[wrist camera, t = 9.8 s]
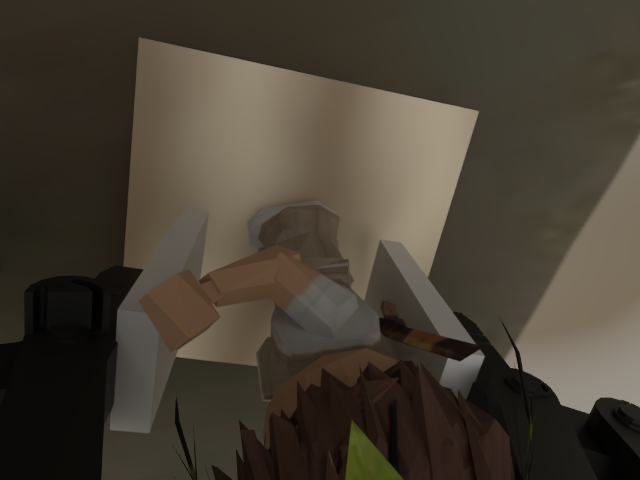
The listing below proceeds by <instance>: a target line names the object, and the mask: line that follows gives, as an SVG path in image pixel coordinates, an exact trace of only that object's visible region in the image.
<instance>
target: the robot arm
mask: <svg viewBox="0 0 640 480" xmlns="http://www.w3.org/2000/svg"><path fill="white" fill-rule="evenodd" d="M208 216H209V211H206V210H199V209H193V208H187V207H184V209H183V210H182V212H181V213H180V215H179V216H178V218H177V220H176V221H175V223H174V224H173V226H172V227H171V229H170V230H169V232H168V233H167V235H166V236H165V238H164V239H163V241H162V242H161V244H160V245H159V247H158V249H157V250H156V252H155V253H154V255H153V256H152V258H151V259H150V261H149V262H148V264H147V265H146V267H145V268H144V269H137V268H130V267H123V266H114V267H112V268H109V269H107V270H105V271H103V272H101V273H99V275H98V276H97V277H96V278H95V279H93V278H89V277H82V276H58V277H53V278H48V279H44V280H41V281H39V282H37V283H34V284H32V285H30V286H29V288H28V289H27V290H26V291H25V292H24V306H25V335H24V338H23V341H20V342H15V343H7V344H0V480H101V471H102V451H103V432H104V424H105V421H106V419H107V417H108V415H109V413H110V411H111V419H110V430H117V431H128V432H139V433H150V430H151V427H152V424H153V421H154V418H155V415H156V412H157V409H158V406H159V404H160V401H161V398H162V395H163V392H164V389H165V386H166V383H167V380H168V377H169V375H170V372H171V369H172V366H173V363H174V360H175V357H176V354H177V351H178V350H177V349H175V350H174V351H172V352H171V351H170V350H169V348H168V347H167V345H166V344H165V342H164V340H163V339H162V337H161V336H160V334H159V333H158V331H157V329H156V328H155V326H154V325H153V323H152V322H151V320H150V318H149V317H148V315H147V314H146V312H145V311H144V309H143V308H142V306H141V304H140V303H139V300H140V299H141V298H142V297H143V296H144V295H145V294H146V293H148V292H149V291H151V290H152V289H154V288H155V287H157V286H158V285H160V284H161V283H163V282H164V281H166V280H167V279H169V278H170V277H172V276H173V275H175V274H176V273H179V272H183V271H186V270H190V271H191V272H192V274H193V275H194V277H195V278H196V280H197V281H198V283H199V280H200V278H201V271H202V263H203V255H204V247H205V240H206V232H207V224H208ZM199 284H200V283H199ZM364 301H365V302H366V303H367V304H368V305H369V306H370V307H371V308H372V309H373V310H374V311H375V312H376V313H377V314H378V316H379V318H384V316H383V314H382V311H381V308H380V307H381V304H382V301H386V302H390V303H393V304H395V305H396V309H397V314H398V318H402V319H403V320H404V322H405V324H406V325H407V327H408V328H412V329H416V330H420V331H424V332H428V333H432V334H436V335H440V336H444V337H448V338H452V339H456V340H460V341H464V342H468V343H472V344H476V345H480V346H484V347H483V348H481V349H480V350H478V351H476V352H475V353H473V354H472V355H470V356H468V357H467V358H465V359H464V360H462V361H460V362H459V361H456V360H453V359H450V358H447V357H444V356H440V355H437V354H434V353H431V352H428V351H425V350H422V349H419V348H416V347H413V346H409V345H406V344H403V343H400V342H397V341H394V340H393V342H394V344H395V347H396V349H397V352H398V354H399V358H400V359H401V360H402V361H413V363H414V364H415V366H416V367H417V362H418V364H419V366H420V368H421V365H420V362H421V363H422V364H423V366H424V367H425V368H426V369H427V370H428V371H429V372H430V373H431V374H432V376H433V377H434V378H435V379H436V380H437V381H438V382H439V383H440V384H441V386H443V387H447V388H450V389H451V390H452V391H453V393H454V394H455V396H456V397H457V399H458V390H459V391H460V393H461V395H462V396H463V398H464V399H466V400H468V401H469V402H471V403H472V404H474V405H475V406H477V407H478V408H480V409H482V410H483V411H485V412H486V413H488V414H489V415H491V416H492V417H494V418H495V419H496V420H497V421H498V423H499V424H500V425H501V427H502V428H503V429H504V430H505V432H506V433H507V434H508V436H509V437H510V456H511V457H512V453H513V465H514V473H515V480H522V475H521V466H520V456H519V447H518V438H517V428H518V436H519V444H520V452H521V460H522V468H523V476H524V472H525V462H526V451H527V440H528V429H529V422H528V418H527V414H526V410H525V406H524V401H523V397H524V395H523V397H522V393H523V390H522V393H521V389H522V384H521V379H520V374H519V370H518V369H513V368H510V367H509V366H508V364H507V363H506V362H505V361H504V359H503V358H502V357H501V356H500V354H499V353H498V352H497V351H496V349H495V348H494V347H493V346H492V345H490V344H491V343H490V342H489V340H488V339H487V338H486V337H485V336H483V335H484V334H483V333H482V332H481V330H480V329H479V328H478V327H477V325H476V324H475V323H474V322H472V321H471V320H470V319H468V318H467V317H466V316H464V315H463V314H461V313H458V312H452V311H451V309H450V308H449V307H448V305H447V304H446V303H445V301H444V300H443V299H442V297H441V296H440V294H439V293H438V292H437V290H436V289H435V288H434V286H433V285H432V284H431V282H430V281H429V279H428V278H427V277H426V275H425V274H424V273H423V271H422V270H421V269H420V267H419V266H418V264H417V263H416V262H415V260H414V259H413V258H412V256H411V255H410V254H409V252H408V251H407V250H406V248H405V247H404V245H403V244H402V243H401V242H394V241H388V240H382V239H380V241H379V245H378V249H377V253H376V256H375V260H374V264H373V268H372V272H371V275H370V279H369V283H368V287H367V291H366V295H365V298H364ZM516 371H517V373H516ZM523 374H524V380H525V385H526V391H527V396H528V402H529V407H530V413H531V374H528V373H526V372H524V371H523ZM517 375H518V377H517ZM518 379H519V381H518ZM511 380H512V381H511ZM519 382H520V385H519ZM520 386H521V389H520ZM512 388H513V390H512ZM513 396H514V400H513ZM514 404H515V409H514ZM515 412H516V419H515ZM532 415H533V428H532V439H531V450H530V461H531V456H532V452H533V447H534V442H535V447H534V452H533V458H532V464H531V470H530V475H529V480H539V479H540V477H541V475H542V477H541V479H540V480H640V408H639V407H638V406H636V405H634V404H632V403H631V404H630V403H629V402H626V401H624V400H617V399H613V398H600V399H598V400H597V401H596V402H595V404H594V406H593V408H592V410H591V413H590V414H587V413H585V412H581V411H578V410H575V409H571V408H569V407H565V406H562V405H561V404H560V402H559V400H558V398H557V396H556V395H555V393H554V392H553V391H552V389H551V388H550V387H549V386H548V385H547V384H545V383H544V382H542V381H541V380H540V379H538V378H536V377H534V376H533V375H532ZM516 420H517V428H516ZM538 423H539V424H538ZM537 428H538V429H537ZM536 433H537V435H536ZM535 437H536V441H535ZM511 440H512V446H511ZM530 461H529V466H530ZM547 463H548V464H547ZM546 465H547V466H546ZM545 467H546V468H545ZM544 469H545V470H544ZM543 471H544V472H543ZM542 473H543V474H542Z"/></svg>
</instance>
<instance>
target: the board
mask: <svg viewBox="0 0 640 480" xmlns="http://www.w3.org/2000/svg"><path fill="white" fill-rule="evenodd" d="M478 113H479V111H476V110H471V109H466V108H462V107H457V106H453V105H448V104H443V103H439V102H434V101H430V100H425V99H420V98H416V97H411V96H407V95H402V94H397V93H393V92H388V91H384V90H379V89H374V88H370V87H365V86H361V85H356V84H351V83H347V82H342V81H338V80H333V79H328V78H324V77H319V76H315V75H310V74H305V73H301V72H296V71H291V70H287V69H282V68H278V67H273V66H268V65H264V64H259V63H255V62H250V61H245V60H241V59H236V58H232V57H227V56H222V55H218V54H213V53H209V52H204V51H199V50H195V49H190V48H186V47H181V46H176V45H172V44H167V43H163V42H158V41H153V40H149V39H144V38H140V37H139V44H138V58H137V73H136V88H135V102H134V117H133V132H132V147H131V161H130V176H129V191H128V205H127V220H126V235H125V250H124V264H123V267H130V268H137V269H144V268H145V267H146V265H147V264H148V262H149V261H150V259H151V258H152V256H153V255H154V253H155V252H156V250H157V249H158V247H159V245H160V244H161V242H162V241H163V239H164V238H165V236H166V235H167V233H168V232H169V230H170V229H171V227H172V226H173V224H174V223H175V221H176V220H177V218H178V216H179V215H180V213H181V212H182V210H183V209H184V207H187V208H193V209H199V210H206V211H209V216H208V224H207V232H206V240H205V247H204V255H203V263H202V271H201V278H202V277H204V276H205V275H206V274H207V273H209V272H211V271H214V270H216V269H219V268H221V267H224V266H226V265H228V264H231V263H233V262H236V261H238V260H241V259H243V258H245V257H248V256H250V255H253V254H255V253H257V252H258V249H259V248H261V247H254V246H250V240H249V232H248V224H247V222H248V221H249V220H250V219H251V218H252V217H253V216H254V215H255V214H256V213H257V212H258V211H259V210H260V209H262V208H269V207H276V206H283V205H289V204H296V203H303V202H310V201H319V202H320V203H322V204H324V205H325V206H327V207H329V208H330V209H332V210H334V211H335V213H336V215H337V216H339V217H340V221H339V226H338V232H337V241H338V250H339V252H340V254H341V255H342V257H343V259H344V260H345V259H349V269H350V274H351V275H352V277H353V279H354V282H353V283H352V284H351V289H352V290H353V291H354V292H355V293H356V294H357V295H358V296H359V297H361V298H362V299H363V300H364V298H365V295H366V291H367V287H368V283H369V279H370V275H371V272H372V268H373V264H374V260H375V256H376V253H377V249H378V245H379V241H380V239H382V240H388V241H394V242H401V243H402V244H403V245H404V247H405V248H406V250H407V251H408V252H409V254H410V255H411V256H412V258H413V259H414V260H415V262H416V263H417V264H418V266H419V267H420V269H421V270H422V271H423V273H424V274H425V275H426V277H427V278H428V276H429V273H430V269H431V266H432V263H433V260H434V256H435V253H436V250H437V247H438V243H439V240H440V237H441V234H442V230H443V227H444V224H445V220H446V217H447V214H448V211H449V207H450V204H451V201H452V198H453V194H454V191H455V188H456V185H457V181H458V178H459V175H460V171H461V168H462V165H463V162H464V158H465V155H466V152H467V149H468V145H469V142H470V139H471V136H472V132H473V129H474V126H475V123H476V119H477V116H478ZM201 278H200V279H201ZM213 306H214V307H215V309H216V310H217V312H218V313H219V315H220V316H221V317H220V318H219V319H218V320H217V321H216V322H215V323H214V324H213V325H212V326H211V327H210V328H209V329H208V330H206V331H205V332H203V333H202V334H201V335H199V336H198V337H196V338H195V339H193V340H192V341H190V342H189V343H187V344H186V345H184V346H183V347H181V348H180V349H179V350H178V351H177V354H176V357H181V358H190V359H199V360H207V361H216V362H225V363H233V364H242V365H251V366H257V360H256V353H257V351H258V350H259V348H260V347H261V345H262V344H263V342H264V341H265V339H266V338H267V337H271V318H272V315H273V312H274V309H275V303H274V302H273V301H272V300H271V299H270V298H266V299H260V300H255V301H249V302H244V303H238V304H233V305H227V306H222V307H216V306H215V305H214V303H213Z"/></svg>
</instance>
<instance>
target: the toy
mask: <svg viewBox="0 0 640 480" xmlns="http://www.w3.org/2000/svg"><path fill="white" fill-rule="evenodd" d="M339 221H340V217H339V216H337V215H336V213H335V211H334V210H332V209H330V208H329V207H327V206H325V205H324V204H322V203H320V202H319V201H310V202H303V203H296V204H289V205H283V206H276V207H269V208H262V209H260V210H259V211H258V212H257V213H256V214H255V215H254V216H253V217H252V218H251V219H250V220H249V221H248V222H247V224H248V232H249V240H250V246H254V247H261V248H259V249H258V252H257V253H255V254H253V255H250V256H248V257H245V258H243V259H241V260H238V261H236V262H233V263H231V264H228V265H226V266H224V267H221V268H219V269H216V270H214V271H211V272H209V273H207V274H206V275H205V276H204V277H202V278H201V279H200V280H199V283H200V284H199V283H198V281H197V280H196V278H195V277H194V275H193V274H192V272H191V271H190V270H186V271H183V272H179V273H176V274H175V275H173V276H172V277H170V278H169V279H167V280H166V281H164V282H163V283H161V284H160V285H158V286H157V287H155V288H154V289H152V290H151V291H149V292H148V293H146V294H145V295H144V296H143V297H142V298H141V299H140V300H139V303H140V304H141V306H142V308H143V309H144V311H145V312H146V314H147V315H148V317H149V318H150V320H151V322H152V323H153V325H154V326H155V328H156V329H157V331H158V333H159V334H160V336H161V337H162V339H163V340H164V342H165V344H166V345H167V347H168V348H169V350H170V351H171V352H172V351H174V350H175V349H177V350H179V349H180V348H181V347H183V346H184V345H186V344H187V343H189V342H190V341H192V340H193V339H195V338H196V337H198V336H199V335H201V334H202V333H203V332H205V331H206V330H208V329H209V328H210V327H211V326H212V325H213V324H214V323H215V322H216V321H217V320H218V319H219V318H220V317H221V316H220V315H219V313H218V312H217V310H216V309H215V307H214V306H213V303H214V305H215V306H216V307H222V306H227V305H233V304H238V303H244V302H249V301H255V300H260V299H266V298H270V299H271V300H272V301H273V302H274V303H275V309H274V312H273V315H272V318H271V337H267V338H266V339H265V341H264V342H263V344H262V345H261V347H260V348H259V350H258V351H257V353H256V360H257V368H258V375H259V383H260V390H261V397H262V401H270V404H269V406H268V408H267V411H266V417H265V422H264V428H263V438H264V446H263V445H262V444H261V443H260V442H259V441H258V440H257V437H256V434H255V431H254V430H248V429H247V428H246V427H245V426H244V425H243V424H242V423H241V422H240V421H239V424H240V433H241V439H242V449H243V460H244V463H243V461H242V459H241V457H240V455H239V454H238V452H237V450H236V456H237V474H238V480H515V473H514V465H513V453H512V457H511V456H510V437H509V436H508V434H507V433H506V432H505V430H504V429H503V428H502V427H501V425H500V424H499V423H498V421H497V420H496V419H495V418H494V417H492V416H491V415H489V414H488V413H486V412H485V411H483V410H482V409H480V408H478V407H477V406H475V405H474V404H472V403H471V402H469V401H468V400H466V399H464V398H463V396H462V395H461V393H460V391H459V390H458V399H457V397H456V396H455V394H454V393H453V391H452V390H451V389H450V388H447V387H443V386H441V384H440V383H439V382H438V381H437V380H436V379H435V378H434V377H433V376H432V374H431V373H430V372H429V371H428V370H427V369H426V368H425V367H424V366H423V364H422V363H421V362H420V365H421V368H420V366H419V364H418V362H417V367H416V366H415V364H414V363H413V361H402V360H401V359H400V358H399V354H398V352H397V349H396V347H395V344H394V342H393V340H394V341H397V342H400V343H403V344H406V345H409V346H413V347H416V348H419V349H422V350H425V351H428V352H431V353H434V354H437V355H440V356H444V357H447V358H450V359H453V360H456V361H459V362H460V361H462V360H464V359H465V358H467V357H468V356H470V355H472V354H473V353H475V352H476V351H478V350H480V349H481V348H483V347H484V346H480V345H476V344H472V343H468V342H464V341H460V340H456V339H452V338H448V337H444V336H440V335H436V334H432V333H428V332H424V331H420V330H416V329H412V328H408V327H407V325H406V324H405V322H404V320H403V319H402V318H398V314H397V309H396V305H395V304H393V303H390V302H386V301H382V304H381V307H380V308H381V311H382V314H383V316H384V318H379V316H378V314H377V313H376V312H375V311H374V310H373V309H372V308H371V307H370V306H369V305H368V304H367V303H366V302H365V301H364V300H363V299H362V298H361V297H359V296H358V295H357V294H356V293H355V292H354V291H353V290H352V289H351V284H352V283H353V282H354V279H353V277H352V275H351V274H350V269H349V259H345V260H344V259H343V257H342V255H341V254H340V252H339V250H338V241H337V232H338V226H339ZM500 319H501V318H500ZM501 321H502V320H501ZM502 323H503V322H502ZM503 326H504V324H503ZM504 328H505V330H506V332H507V334H508V336H509V339H510V341H511V343H512V345H513V347H514V349H515V353H516V357H517V363H518V368H519V374H520V379H521V384H522V389H521V386H520V389H521V393H522V390H523V393H522V397H523V395H524V397H523V401H524V406H525V410H526V414H527V418H528V422H529V429H528V440H527V451H526V462H525V472H524V476H523V468H522V460H521V452H520V444H519V436H518V428H517V420H516V428H517V438H518V447H519V456H520V466H521V475H522V480H529V475H530V470H531V464H532V458H533V452H534V447H535V442H534V447H533V452H532V456H531V461H530V450H531V439H532V428H533V415H532V375H531V413H530V407H529V402H528V396H527V391H526V385H525V380H524V374H523V369H522V363H521V357H520V353H519V351H518V349H517V347H516V346H515V344H514V342H513V340H512V338H511V336H510V335H509V333H508V331H507V329H506V327H505V326H504ZM516 373H517V371H516ZM517 377H518V375H517ZM511 381H512V380H511ZM518 381H519V379H518ZM519 385H520V382H519ZM512 390H513V388H512ZM513 400H514V396H513ZM514 409H515V404H514ZM515 419H516V412H515ZM175 424H176V427H177V430H178V434H179V437H180V440H181V443H182V446H183V449H184V452H185V456H186V459H187V462H188V465H189V468H190V471H191V474H192V476H191V474H190V472H189V471H188V469H187V467H186V466H185V464H184V463H183V464H184V466H185V467H186V469H187V471H188V473H189V474H190V476H191V478H192V479H193V480H197V469H196V455H195V471H194V468H193V464H192V461H191V458H190V454H189V451H188V448H187V445H186V441H185V438H184V435H183V431H182V428H181V425H180V422H179V413H178V404H177V394H176V408H175ZM538 424H539V423H538ZM537 429H538V428H537ZM193 431H194V427H193ZM536 435H537V433H536ZM535 441H536V437H535ZM511 446H512V440H511ZM173 447H174V446H173ZM176 452H177V451H176ZM194 452H195V441H194ZM177 454H178V453H177ZM179 457H180V456H179ZM180 459H181V458H180ZM181 461H182V459H181ZM529 461H530V466H529ZM182 462H183V461H182ZM547 464H548V463H547ZM546 466H547V465H546ZM205 468H206V467H205ZM545 468H546V467H545ZM212 469H213V473H214V476H215V480H232V479H231V478H230V477H228V476H227V475H226V474H225V473H224V472H222V471H221V470H220V469H219V468H217V467H215V466H213V465H212ZM544 470H545V469H544ZM206 471H207V470H206ZM543 472H544V471H543ZM195 473H196V474H195ZM207 474H208V473H207ZM542 474H543V473H542ZM173 477H174V476H173ZM208 477H209V476H208ZM541 477H542V475H541ZM541 477H540V479H541ZM174 478H175V477H174ZM540 479H539V480H540ZM209 480H210V479H209Z"/></svg>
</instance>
